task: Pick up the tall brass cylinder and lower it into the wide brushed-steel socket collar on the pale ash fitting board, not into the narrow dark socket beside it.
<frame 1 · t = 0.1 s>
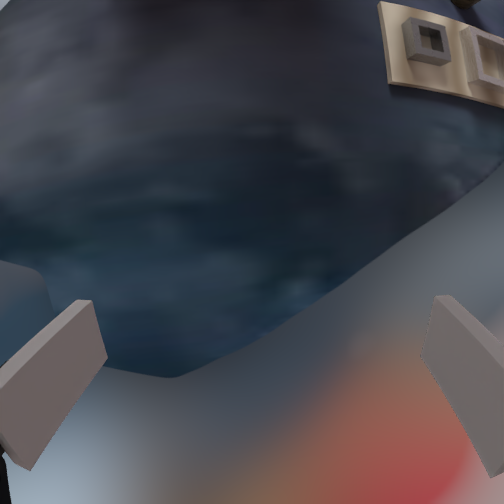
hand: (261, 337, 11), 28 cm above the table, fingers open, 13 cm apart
fitting board: (452, 57, 29), on the table
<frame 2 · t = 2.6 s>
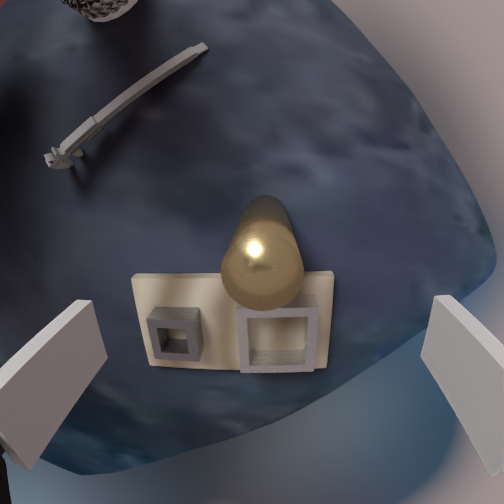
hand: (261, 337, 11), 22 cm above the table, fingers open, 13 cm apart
brass cylinder: (265, 216, 32), on the table
caliper: (131, 105, 29), on the table
fitting board: (233, 321, 36), on the table
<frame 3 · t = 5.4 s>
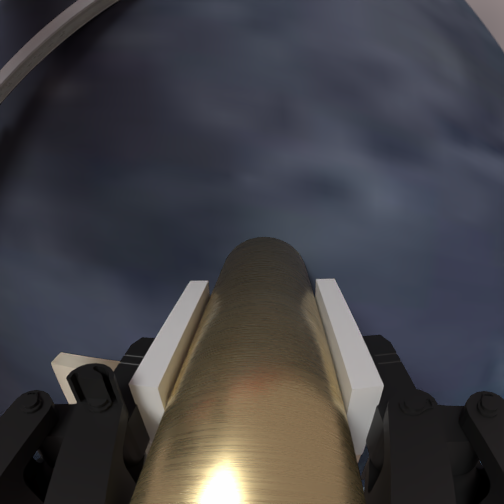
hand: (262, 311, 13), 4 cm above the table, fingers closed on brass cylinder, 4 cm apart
brass cylinder: (264, 278, 16), on the table, touching gripper
caliper: (37, 79, 14), on the table
fitting board: (212, 429, 20), on the table
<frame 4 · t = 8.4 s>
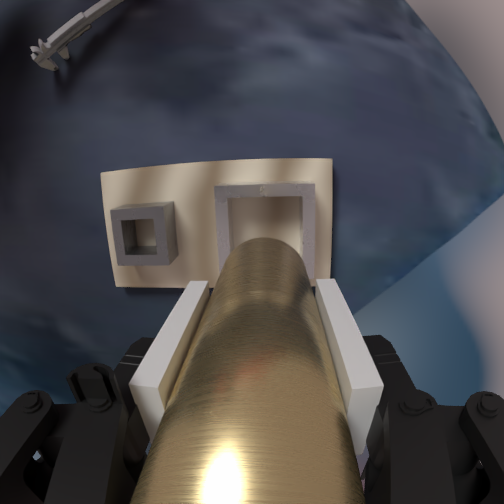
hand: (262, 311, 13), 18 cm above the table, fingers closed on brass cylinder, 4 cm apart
brass cylinder: (264, 278, 16), point 14 cm above the table, touching gripper
caliper: (121, 9, 24), on the table
fitting board: (214, 223, 30), on the table
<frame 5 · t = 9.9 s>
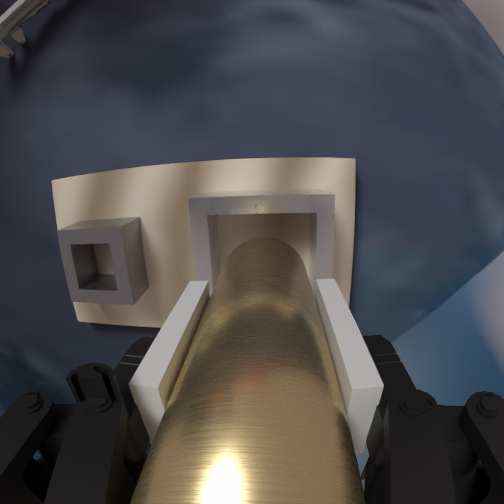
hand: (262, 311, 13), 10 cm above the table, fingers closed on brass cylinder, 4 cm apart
brass cylinder: (264, 278, 16), point 6 cm above the table, touching gripper
fitting board: (194, 245, 22), on the table
when the fingers open (7 cm above the table, at t = 11.4 s): brass cylinder drops 1 cm, resting on fitting board.
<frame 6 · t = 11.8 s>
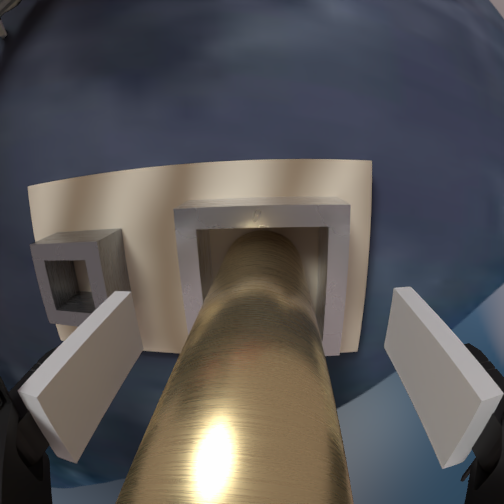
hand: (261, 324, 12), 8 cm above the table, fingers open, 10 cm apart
brass cylinder: (262, 268, 18), point 2 cm above the table, touching fitting board
fitting board: (185, 261, 19), on the table
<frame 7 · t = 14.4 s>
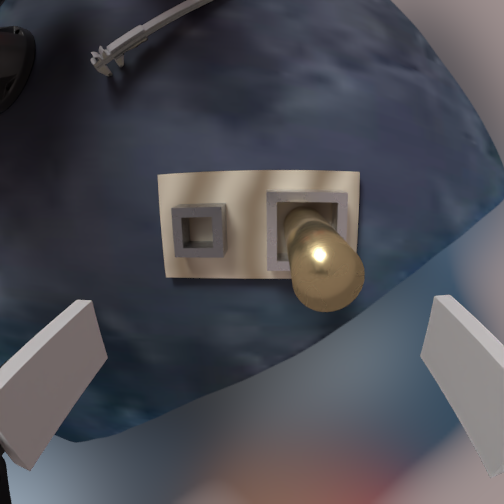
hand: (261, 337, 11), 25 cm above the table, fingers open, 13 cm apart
brass cylinder: (303, 226, 33), point 2 cm above the table, touching fitting board
caliper: (174, 25, 29), on the table
fitting board: (258, 223, 35), on the table
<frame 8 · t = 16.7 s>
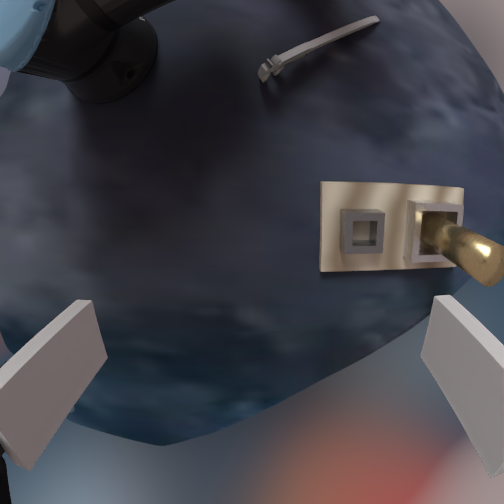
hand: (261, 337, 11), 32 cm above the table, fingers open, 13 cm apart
brass cylinder: (428, 228, 39), point 2 cm above the table, touching fitting board
caliper: (322, 45, 35), on the table
fitting board: (395, 225, 41), on the table
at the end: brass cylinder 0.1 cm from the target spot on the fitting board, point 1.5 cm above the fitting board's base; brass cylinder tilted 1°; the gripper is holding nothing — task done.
